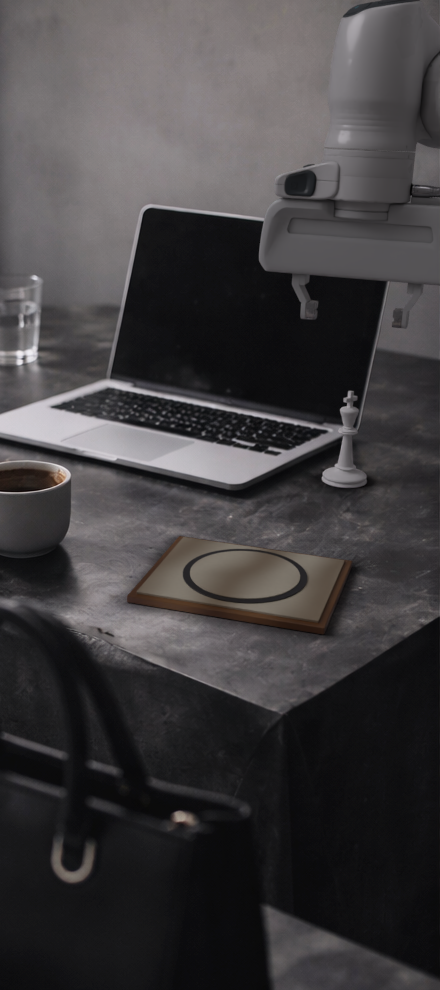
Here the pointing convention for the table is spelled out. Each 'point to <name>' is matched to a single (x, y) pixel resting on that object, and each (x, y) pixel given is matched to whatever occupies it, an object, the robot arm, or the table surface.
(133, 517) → the table surface
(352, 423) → the chess piece
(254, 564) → the wooden board
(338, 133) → the robot arm
